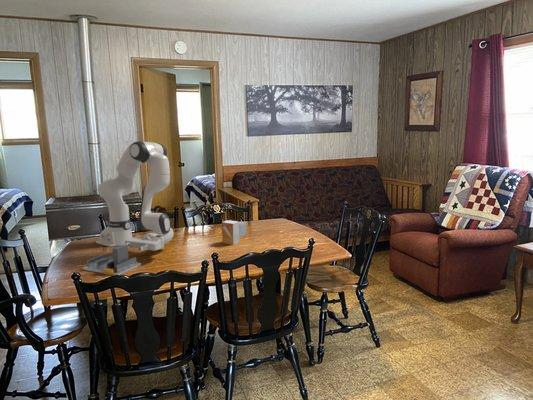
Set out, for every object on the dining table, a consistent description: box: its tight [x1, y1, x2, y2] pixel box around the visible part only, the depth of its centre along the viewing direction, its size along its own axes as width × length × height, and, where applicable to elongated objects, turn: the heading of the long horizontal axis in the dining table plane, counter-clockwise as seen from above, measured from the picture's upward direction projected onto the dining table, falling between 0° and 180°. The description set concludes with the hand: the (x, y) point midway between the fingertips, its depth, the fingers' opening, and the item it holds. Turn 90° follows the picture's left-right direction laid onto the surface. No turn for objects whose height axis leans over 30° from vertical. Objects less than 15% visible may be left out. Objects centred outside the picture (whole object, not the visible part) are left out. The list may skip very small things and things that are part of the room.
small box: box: [221, 219, 240, 246], centre depth 236 cm, size 8×6×13 cm
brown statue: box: [153, 205, 167, 214], centre depth 249 cm, size 15×15×20 cm
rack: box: [82, 252, 142, 276], centre depth 196 cm, size 22×17×4 cm
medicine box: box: [238, 220, 247, 238], centre depth 252 cm, size 8×4×9 cm, turn 141°
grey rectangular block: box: [111, 245, 130, 269], centre depth 193 cm, size 3×7×10 cm, turn 157°
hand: (132, 247), depth 200 cm, fingers open, 8 cm apart
